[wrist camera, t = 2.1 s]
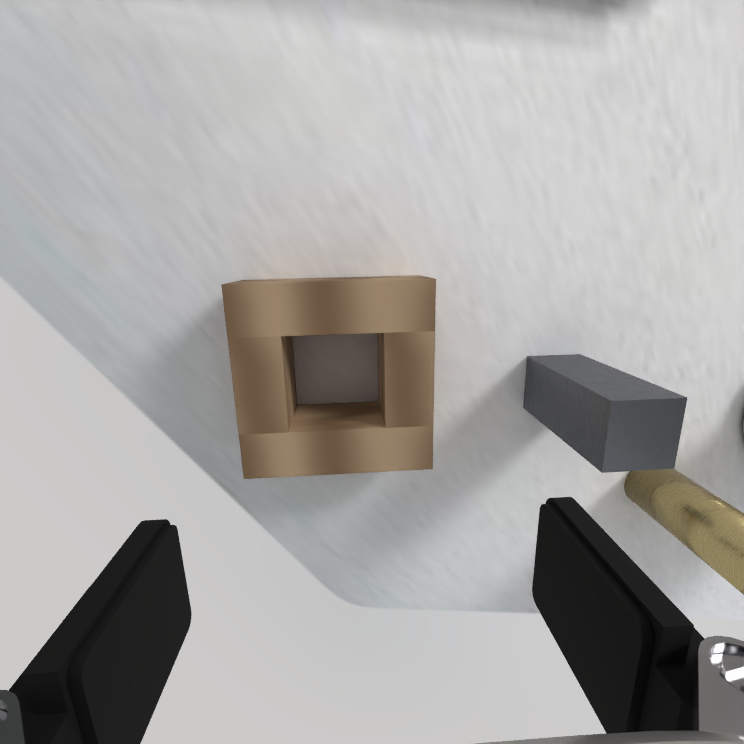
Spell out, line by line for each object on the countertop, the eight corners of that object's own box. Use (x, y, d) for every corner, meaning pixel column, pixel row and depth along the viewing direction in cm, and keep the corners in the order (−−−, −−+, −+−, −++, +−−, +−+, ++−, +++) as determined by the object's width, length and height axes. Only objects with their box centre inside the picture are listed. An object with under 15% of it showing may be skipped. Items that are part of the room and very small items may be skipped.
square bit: (580, 354, 31) (687, 397, 21) (574, 405, 32) (674, 468, 22) (527, 356, 31) (611, 401, 21) (523, 407, 32) (601, 472, 22)
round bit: (675, 458, 34) (807, 538, 24) (667, 502, 35) (791, 595, 25) (628, 461, 34) (742, 542, 24) (621, 504, 35) (728, 599, 25)
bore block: (420, 275, 29) (435, 279, 24) (419, 436, 32) (432, 468, 27) (242, 280, 28) (221, 284, 23) (259, 444, 31) (244, 479, 26)
